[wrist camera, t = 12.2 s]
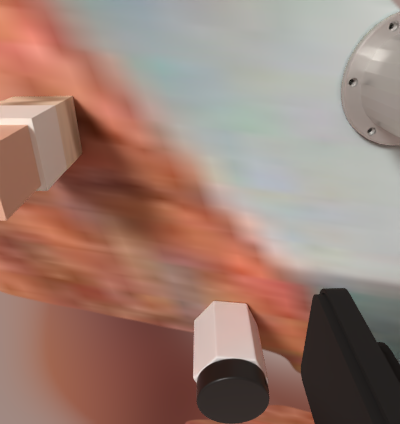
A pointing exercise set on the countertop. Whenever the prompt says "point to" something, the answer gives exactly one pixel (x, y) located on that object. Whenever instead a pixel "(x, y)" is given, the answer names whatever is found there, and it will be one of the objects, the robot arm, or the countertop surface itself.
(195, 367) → the jar
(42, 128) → the middle block
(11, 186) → the top block
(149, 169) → the countertop surface
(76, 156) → the base block
